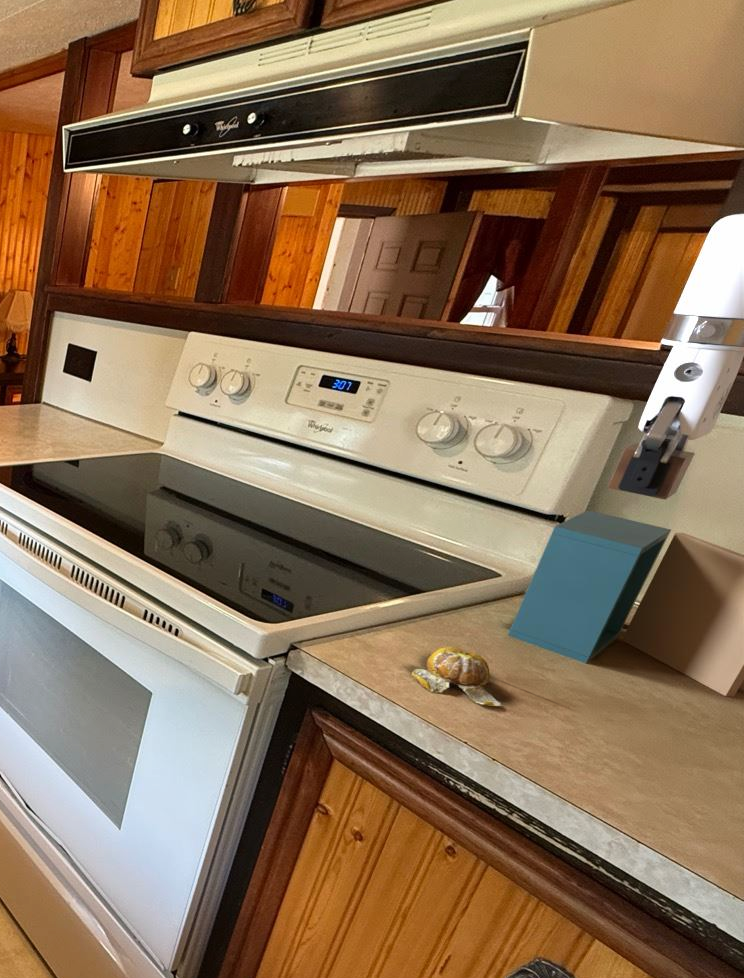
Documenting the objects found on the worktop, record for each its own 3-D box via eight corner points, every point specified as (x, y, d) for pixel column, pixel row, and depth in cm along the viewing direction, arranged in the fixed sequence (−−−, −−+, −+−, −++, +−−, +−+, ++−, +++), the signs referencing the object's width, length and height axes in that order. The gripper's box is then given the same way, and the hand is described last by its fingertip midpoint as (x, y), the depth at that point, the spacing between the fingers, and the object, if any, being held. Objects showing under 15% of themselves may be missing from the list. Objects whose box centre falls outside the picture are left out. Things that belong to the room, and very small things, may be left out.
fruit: (411, 685, 85) (421, 659, 84) (411, 656, 92) (421, 631, 90) (501, 712, 81) (514, 685, 80) (495, 680, 87) (507, 654, 86)
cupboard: (616, 638, 98) (671, 529, 92) (585, 664, 91) (642, 548, 85) (541, 613, 104) (587, 510, 98) (507, 636, 98) (554, 526, 92)
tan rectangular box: (679, 643, 97) (737, 535, 91) (792, 700, 85) (867, 580, 79) (621, 640, 97) (675, 532, 92) (725, 696, 85) (795, 576, 80)
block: (675, 493, 87) (695, 452, 85) (665, 499, 84) (685, 458, 82) (618, 481, 91) (635, 443, 89) (607, 487, 88) (624, 448, 86)
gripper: (751, 341, 73) (670, 510, 80) (778, 334, 82) (703, 486, 89) (647, 333, 79) (579, 490, 86) (683, 327, 88) (619, 471, 95)
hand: (643, 487), depth 87 cm, fingers closed on block, 5 cm apart
